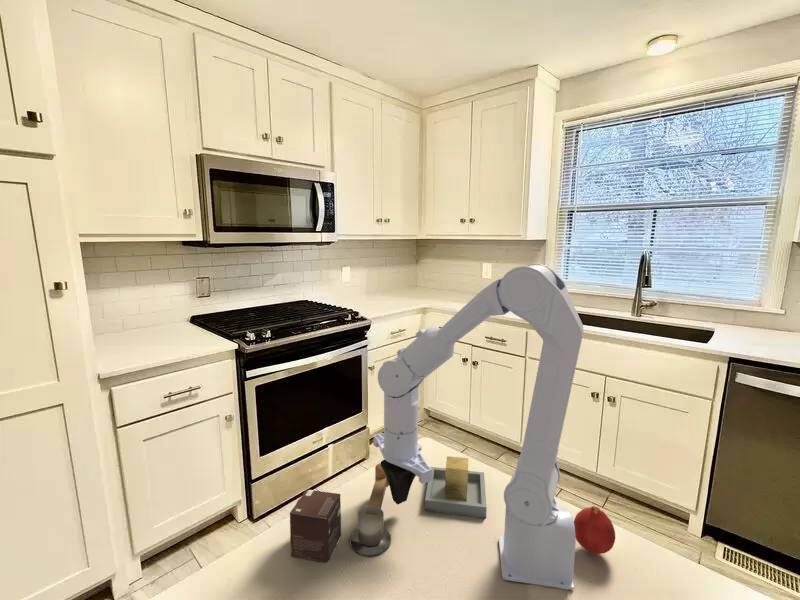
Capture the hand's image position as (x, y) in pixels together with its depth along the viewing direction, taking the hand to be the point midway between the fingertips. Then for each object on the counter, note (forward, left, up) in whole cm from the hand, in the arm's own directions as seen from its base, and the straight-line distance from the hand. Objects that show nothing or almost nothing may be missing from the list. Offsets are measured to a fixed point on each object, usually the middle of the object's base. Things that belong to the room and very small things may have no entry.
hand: (400, 500), depth 68 cm
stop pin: (-9, -7, -2) cm, 12 cm away
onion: (-30, +3, -3) cm, 31 cm away
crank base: (+4, +7, -2) cm, 8 cm away
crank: (+4, +2, -2) cm, 4 cm away
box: (+12, +9, -3) cm, 15 cm away
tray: (-9, -7, -2) cm, 12 cm away
